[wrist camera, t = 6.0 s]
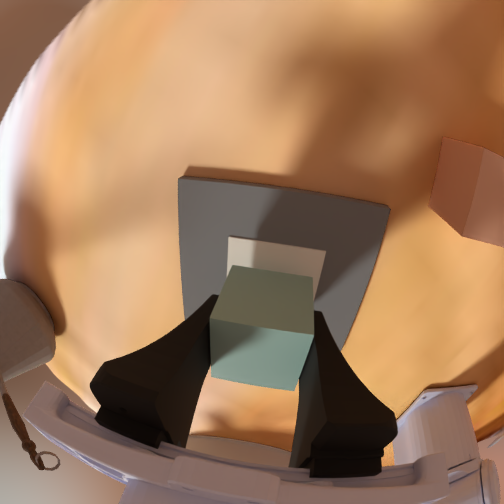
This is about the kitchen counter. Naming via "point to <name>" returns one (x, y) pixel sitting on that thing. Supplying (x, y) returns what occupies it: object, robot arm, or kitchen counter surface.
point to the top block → (470, 191)
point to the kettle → (239, 450)
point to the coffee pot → (23, 349)
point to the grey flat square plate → (278, 241)
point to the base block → (262, 327)
